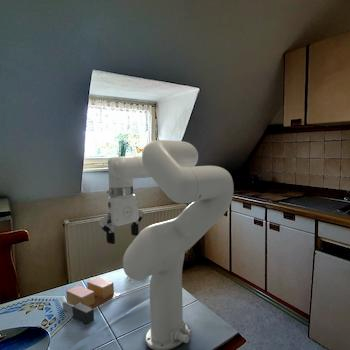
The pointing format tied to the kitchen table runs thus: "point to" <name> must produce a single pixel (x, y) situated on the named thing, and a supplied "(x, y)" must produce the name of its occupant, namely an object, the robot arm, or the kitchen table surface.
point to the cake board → (102, 300)
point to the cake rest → (101, 287)
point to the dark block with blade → (80, 312)
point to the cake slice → (80, 296)
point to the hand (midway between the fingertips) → (123, 239)
